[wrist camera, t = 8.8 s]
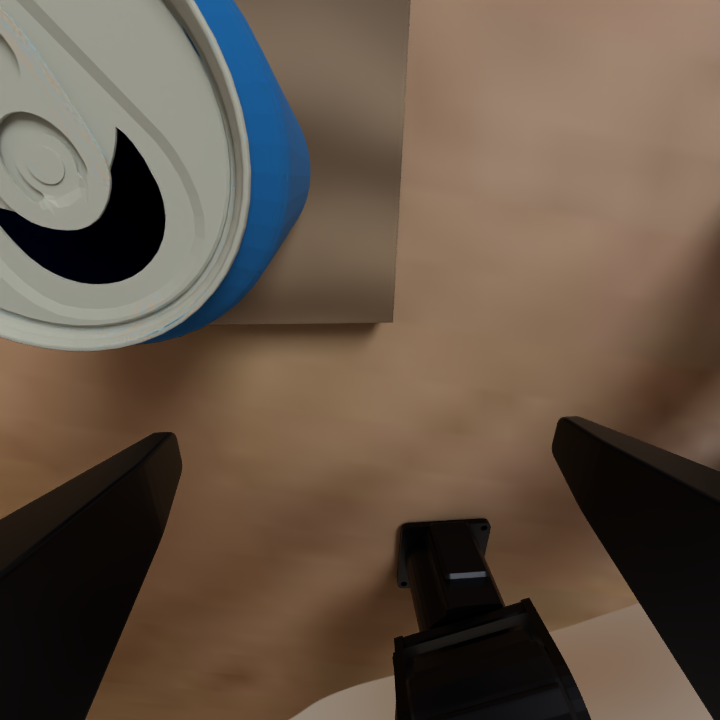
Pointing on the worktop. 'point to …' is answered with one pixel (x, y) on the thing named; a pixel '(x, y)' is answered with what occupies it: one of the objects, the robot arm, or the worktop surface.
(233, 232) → the beverage can
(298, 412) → the worktop surface
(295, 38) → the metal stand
